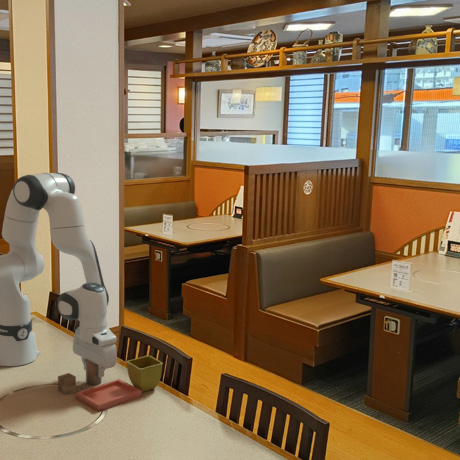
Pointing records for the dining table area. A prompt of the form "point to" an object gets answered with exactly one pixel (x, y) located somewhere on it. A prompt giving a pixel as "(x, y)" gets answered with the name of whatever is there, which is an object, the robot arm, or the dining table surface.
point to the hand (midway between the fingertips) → (93, 373)
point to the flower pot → (144, 372)
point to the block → (67, 383)
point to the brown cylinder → (92, 373)
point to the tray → (108, 395)
